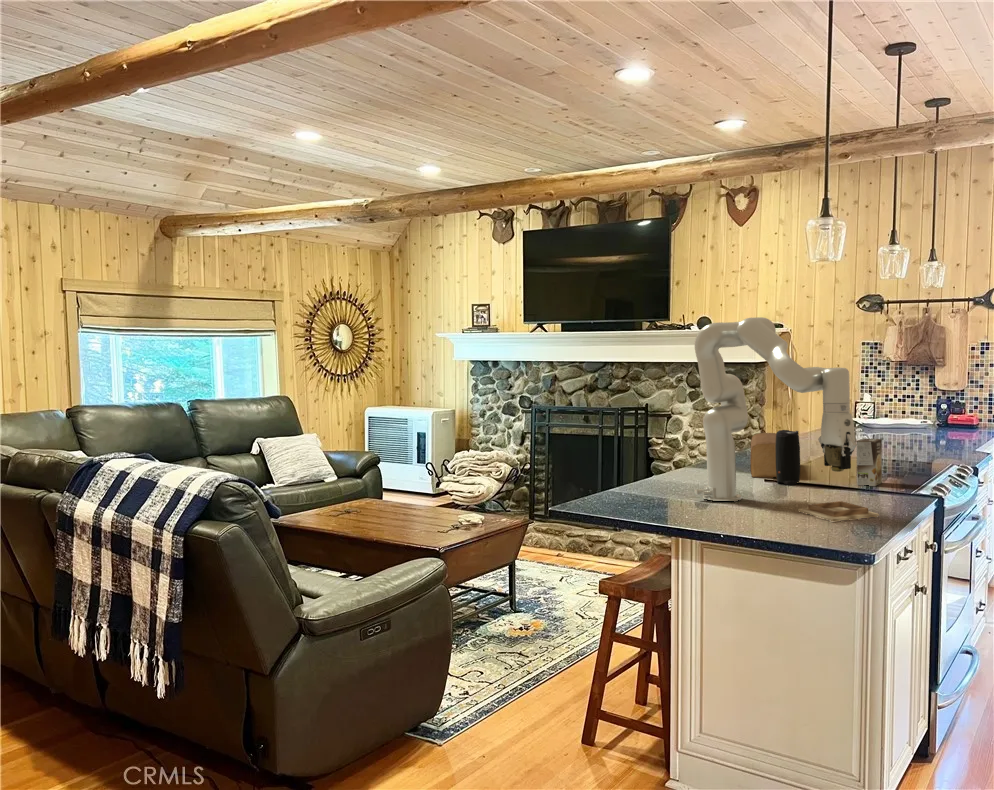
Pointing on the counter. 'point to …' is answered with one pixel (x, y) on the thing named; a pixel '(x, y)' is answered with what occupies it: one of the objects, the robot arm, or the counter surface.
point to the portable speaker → (787, 457)
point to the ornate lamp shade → (833, 457)
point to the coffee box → (869, 462)
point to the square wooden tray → (838, 511)
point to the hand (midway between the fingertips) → (837, 466)
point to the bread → (763, 455)
